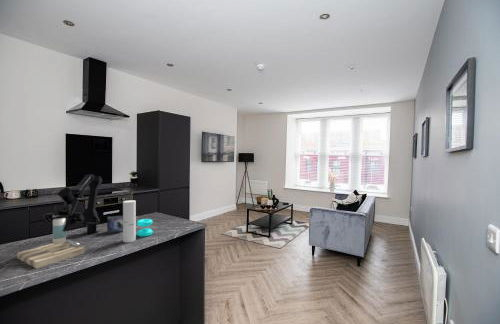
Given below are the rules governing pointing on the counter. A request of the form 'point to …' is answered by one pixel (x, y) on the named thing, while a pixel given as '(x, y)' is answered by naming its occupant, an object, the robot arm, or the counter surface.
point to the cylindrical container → (129, 221)
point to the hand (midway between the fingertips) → (57, 231)
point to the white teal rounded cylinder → (59, 231)
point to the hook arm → (72, 243)
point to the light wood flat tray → (48, 254)
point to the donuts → (145, 231)
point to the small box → (114, 224)
